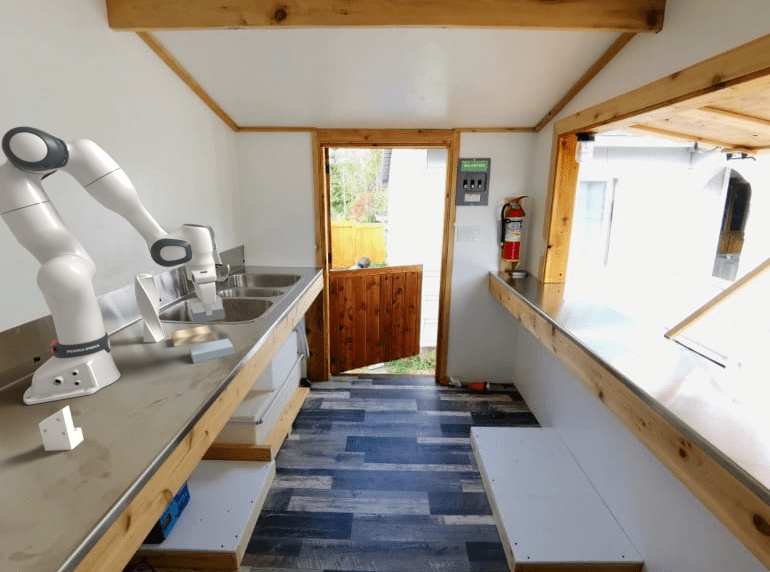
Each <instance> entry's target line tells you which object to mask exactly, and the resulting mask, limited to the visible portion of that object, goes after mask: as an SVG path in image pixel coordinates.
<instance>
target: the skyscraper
mask: <svg viewBox="0 0 770 572" xmlns="http://www.w3.org/2000/svg"><path fill="white" fill-rule="evenodd" d="M134 294H135V300H136V305H137V309H138V311H139V314H140V316H141V318H142V320H143V322H142V323H143V327H142V328H143V339H142V340H141V341H139V342H140V343H143V344H144V343H146V344H150V343H151V344H153V343H154V344H157V343H159V342H161V341H163V340H164V339H167V338H168V337H169V335H165V332H164V328H163V326H162V323H161V319H160V317H159V315H160V304H161V303H160V293H159V289H158V285H157V283H156V278H155V273H154V270H153V269H150V271H149V273H141V274H139V275H135V274H134Z"/></svg>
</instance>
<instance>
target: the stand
mask: <svg viewBox="0 0 770 572" xmlns="http://www.w3.org/2000/svg"><path fill="white" fill-rule="evenodd" d="M188 348H189V350H188V351H189V355H190V357H191V360H192V362H193V364H198V363H201V362H206V360H207V361H211V360H215V359H220V358H224V357H227V356H228V355H229V356H233V355H235V347H234V345H233V343H232V342H231V341H230V339H229V338H224V339H218V340H214V341H209V342H204V343H199V344H195V345H190V346H188ZM232 354H233V355H232ZM223 356H224V357H223ZM219 357H220V358H219ZM214 358H215V359H214ZM210 359H211V360H210Z"/></svg>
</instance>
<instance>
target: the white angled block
mask: <svg viewBox="0 0 770 572" xmlns="http://www.w3.org/2000/svg"><path fill="white" fill-rule="evenodd" d="M38 427H39V428H38V429H39V431H40V435H41V439H42V443H43V448H44V451H45V452H46V451H48V452H49V451H69V450H70V451H71V450H73V449H74V448H76V447H77V446H78V445H79V444H81V442H83V441H84V439H85V438H84V436H83V435H84V434H83V429H82V427H75V426H74V423H73V418H72V413H71V410H70V406H69V404H68V405H66V406H65V407H63V408H61V409H60V410H58V411H56V412H55V413H53V414H52V415H49V416H48V417H46V418H45V419H43V420H42V421H41V422H39V423H38Z"/></svg>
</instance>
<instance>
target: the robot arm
mask: <svg viewBox="0 0 770 572" xmlns="http://www.w3.org/2000/svg"><path fill="white" fill-rule="evenodd" d="M1 149H2V152H3V154H4V155H5V157H6V158H7V159H6V161H5V162H4V163H2V164H0V217H1V219H2V221H4V223H5V225H6V226H7V228H8V229H9V230H10V232H11V234H13V236H14V238H15V240H16V242H18V243H19V244H20V245H21V246H22V247H23V248H25V249H26V250H27V251H28V252H29V253H30V254H31V255H32V256H33V257H34V258H35V260H37V261H38V262H39V264H40V265H41V266H40V267H39V269H38V271H37V274H36V283H37V287H38V289H39V290H40V292H42V293H41V294H42V296H43V299H44V301H45V303H46V305H47V308H48V309H49V311H50V314H51V317H52V320H53V324H54V328H55V333H56V336H57V339H54V340H52V341H51V342H50V352H51V355H52V356H51V357H50V358H48V359H47V360H46V361H45V362H44V363H43V364H41V366H39V367H38V368H37V369H36V370H35V372H34V373H33V376H32V379H31V385H30V386H29V387H28V388H27V389H26V391H24V394H23V396H22V397H23V398H22V399H23V402H24V404H25V405H28V406H29V405H35V404H42V403H47V402H48V403H49V402H53V401H59V400H65V399H66V400H67V399H69V398H78V397H83V396H88V395H92V394H94V393H96V392H97V391H99V390H101V389H102V388H105V387H107V386H109V385H111V384H113V383H114V382H116V381H117V380H119V378H120V377H121V376H122V375H121V371H119V369H118V368H117V366H116V363H115V361H114V358H113V356H112V353H111V350H112V349H111V348H112V347H111V341H110V337H109V335H108V332H106V329H105V323H104V319H103V315H102V314H103V313H102V309H101V307H100V305H99V301H98V299H97V296H96V294H95V291H94V286H93V280H94V279H95V278H96V276H97V275H96V274H97V267H96V263H95V262H94V260H93V259H92V257H90V254H89V253H87V251H86V249H85V248H84V246H82V244H81V242H79V240H78V239H77V238H76V237H75V235H74V234H73V233H72V232H71V230H70V229H69V227H68V225H66V223H65V222H64V220H63V218H62V217H61V215H60V214H59V212H58V210H57V208H56V207H55V205H54V204H53V202H52V201H51V199H50V196H48V195H47V192H46V191H45V189H44V187H43V184H42V181H43V180H45V179H46V178H48V177H50V176H51V175H53V174H55V173H56V172H57V171H62V172H65V173H67V174H69V175H70V176H71V177H73V178H74V179H75V180H76V182H78V184H79V185H80V186H81V187H82V188H83V189H84V190H85V192H87V194H89V196H91V197H92V198H93V199H94V200H95V201H97V202H98V203H99V204H100V205H102V206H103V207H104V208H106V209H108V210H110V211H112V212H114V213H116V214H118V215H119V216H121V217H122V218H124V219H125V220H126V221H127V222H128V223H129V224H130V225H131V227H133V228H134V229H135V231H137V232H138V234H139V235H140V236H141V237H142V239H144V241H145V243H146V244H147V247H148V248H147V249H148V251H149V254H150V257H151V259H152V260H153V262H154V263H155V264H157V265H158V266H161V267H165V268H173V267H176V266H179V265H183V264H185V270H186V272H185V273H186V277H187V280H189V281H192V284H193V285H194V293H195V295H196V296H197V298H199V299H200V300H201V302H202V303H203V305H204V306H205V313H206V315H207V316H209V315H212V305H215V303H216V295H217V291H216V290H217V289H216V281H217V271H216V269H217V268H216V264H215V260H214V257H213V252H214V247H213V241H212V236H211V233H210V230H209V229H208V228H207V227H206V226H204V225H201V224H197V223H184V224H182V225H181V226H180V227H179V228H177V229H176V230H174V231H172V232H168V231H166V230H165V229H164V228H162V226H160V225H159V224H158V222H157V221H156V220H155V219H154V217H153V216H152V215H151V214H150V212H149V211H147V210H146V208H145V206H144V205H143V204H142V202H141V199H140V197H139V194H138V191H137V189H136V187H135V186H134V184H133V183H132V181H131V179H130V178H129V177H128V175H127V174H126V173H125V171H124V170H123V169H122V168H121V167H120V166H119V164H118V163H117V162H116V161H115V160H114V159H113V158H112V157H111V156H110V155H109V154H108V153H107V152H106V151H105V150H104V149H103V148H101V146H99V145H98V144H97V143H95V142H94V141H92V140H91V139H87V138H77V139H76V138H75V139H72V140H71V141H66V142H65V140H63V139H61V138H60V137H56V136H54V135H52V134H50V133H48V132H46V131H44V130H41V129H39V128H37V127H31V126H15V127H12V128H11V129H8V131H6V132H5V133H4V135H3V137H2V139H1Z"/></svg>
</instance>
